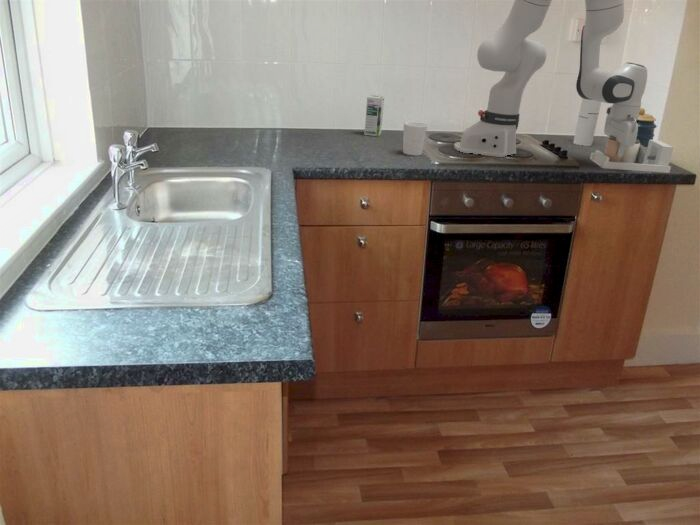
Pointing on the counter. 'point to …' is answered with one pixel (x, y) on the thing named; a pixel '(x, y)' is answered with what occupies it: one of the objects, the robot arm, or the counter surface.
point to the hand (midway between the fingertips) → (615, 153)
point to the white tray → (657, 165)
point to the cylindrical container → (587, 122)
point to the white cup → (414, 138)
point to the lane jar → (631, 153)
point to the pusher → (643, 155)
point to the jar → (612, 149)
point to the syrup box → (374, 115)
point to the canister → (645, 127)
